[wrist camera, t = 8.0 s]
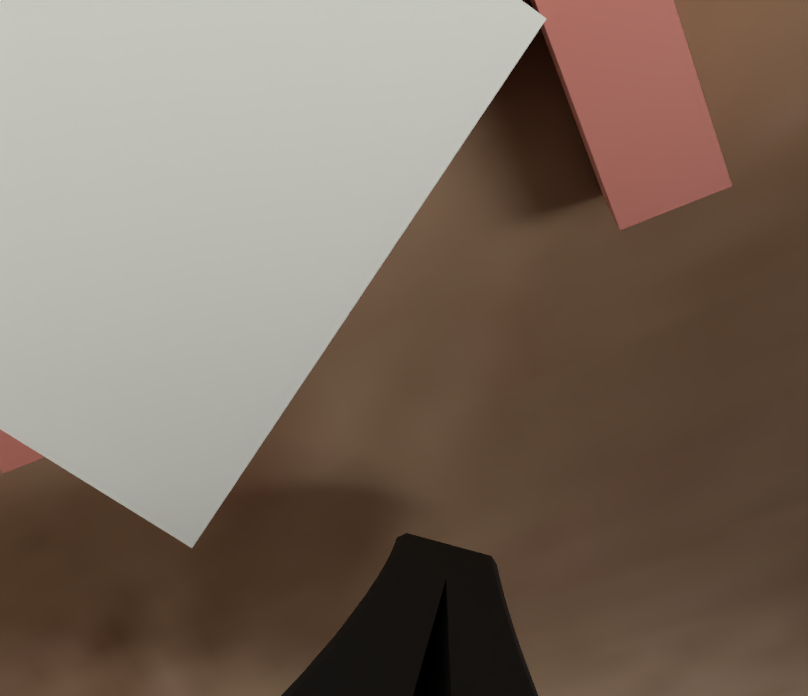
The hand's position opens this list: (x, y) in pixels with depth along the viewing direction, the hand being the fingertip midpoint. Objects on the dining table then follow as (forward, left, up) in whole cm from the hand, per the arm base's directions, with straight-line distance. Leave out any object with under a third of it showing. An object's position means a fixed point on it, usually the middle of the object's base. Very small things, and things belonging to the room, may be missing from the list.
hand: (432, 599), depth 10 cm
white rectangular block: (+7, 0, -2) cm, 7 cm away
